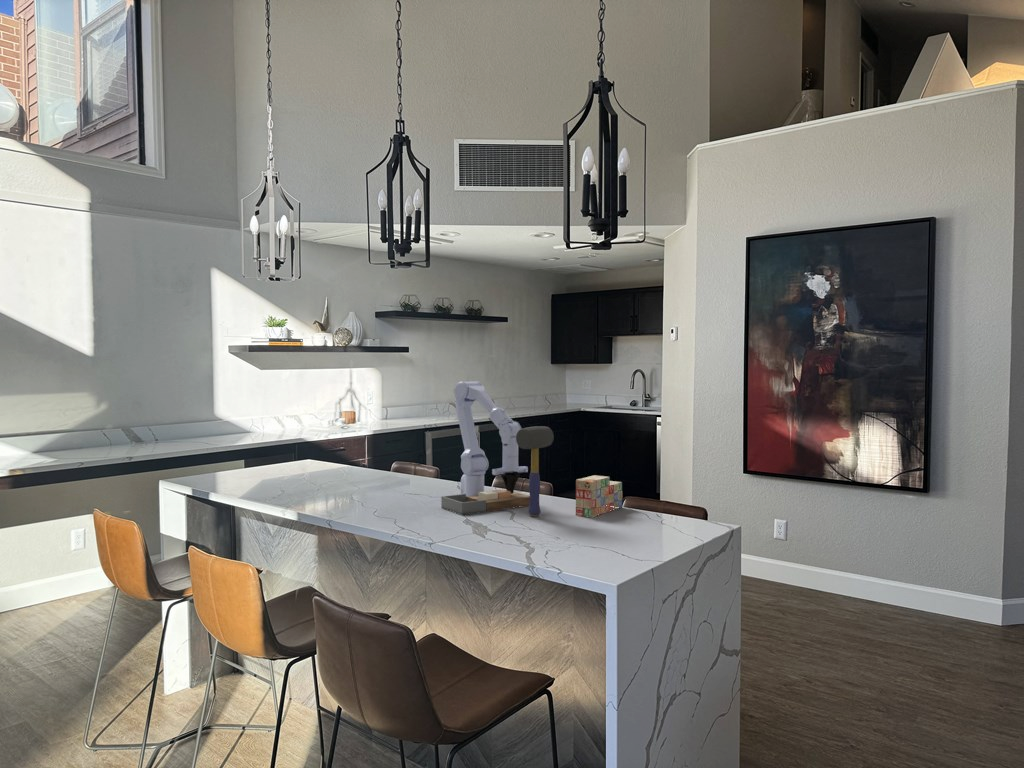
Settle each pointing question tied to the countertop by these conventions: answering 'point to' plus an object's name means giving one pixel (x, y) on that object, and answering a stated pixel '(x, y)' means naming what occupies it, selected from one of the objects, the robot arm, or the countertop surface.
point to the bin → (462, 504)
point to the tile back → (503, 493)
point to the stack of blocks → (597, 495)
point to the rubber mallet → (534, 459)
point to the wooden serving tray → (503, 501)
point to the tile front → (488, 495)
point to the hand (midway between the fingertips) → (510, 493)
